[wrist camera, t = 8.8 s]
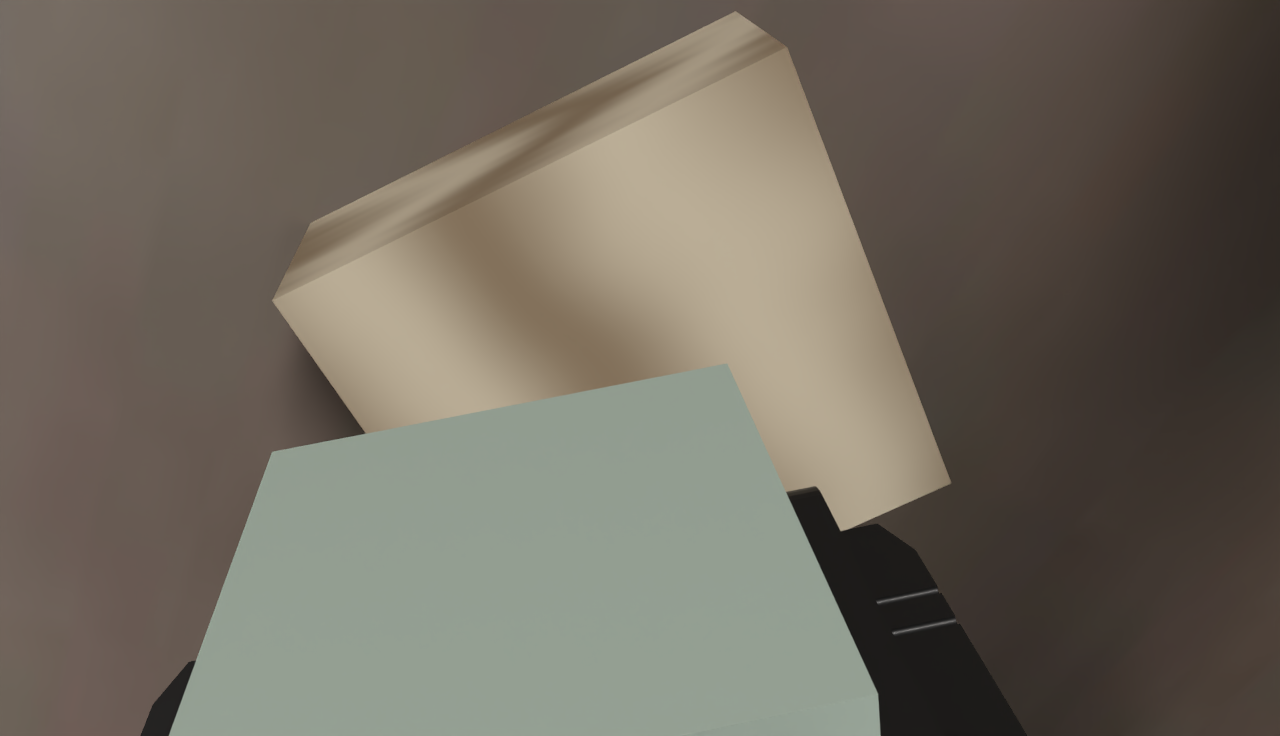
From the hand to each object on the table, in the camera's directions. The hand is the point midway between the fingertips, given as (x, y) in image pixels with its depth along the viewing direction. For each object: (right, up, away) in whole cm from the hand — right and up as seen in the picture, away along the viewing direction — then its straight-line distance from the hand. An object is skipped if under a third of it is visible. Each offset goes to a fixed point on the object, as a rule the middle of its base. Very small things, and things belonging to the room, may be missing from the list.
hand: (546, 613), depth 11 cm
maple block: (0, +4, +16) cm, 16 cm away
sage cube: (0, 0, 0) cm, 0 cm away
